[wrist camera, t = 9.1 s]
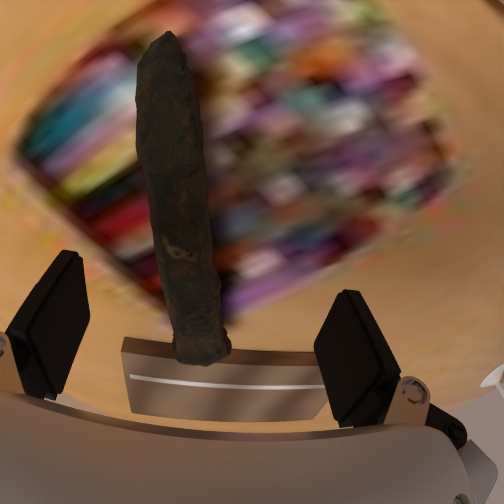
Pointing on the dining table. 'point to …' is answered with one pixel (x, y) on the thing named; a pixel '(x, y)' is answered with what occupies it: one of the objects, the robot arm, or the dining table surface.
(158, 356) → the board
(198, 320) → the hand tool
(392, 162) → the dining table surface
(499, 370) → the champagne flute
